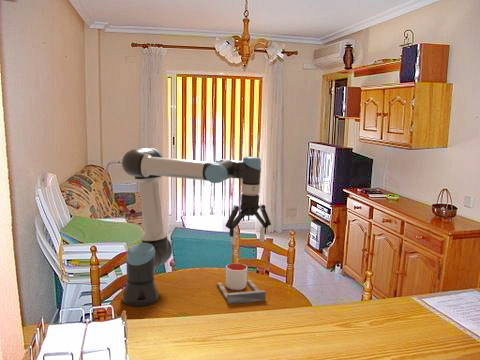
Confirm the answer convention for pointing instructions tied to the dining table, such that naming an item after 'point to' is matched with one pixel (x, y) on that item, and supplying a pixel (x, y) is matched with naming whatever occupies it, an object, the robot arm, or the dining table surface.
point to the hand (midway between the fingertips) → (247, 242)
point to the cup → (236, 276)
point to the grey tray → (243, 294)
